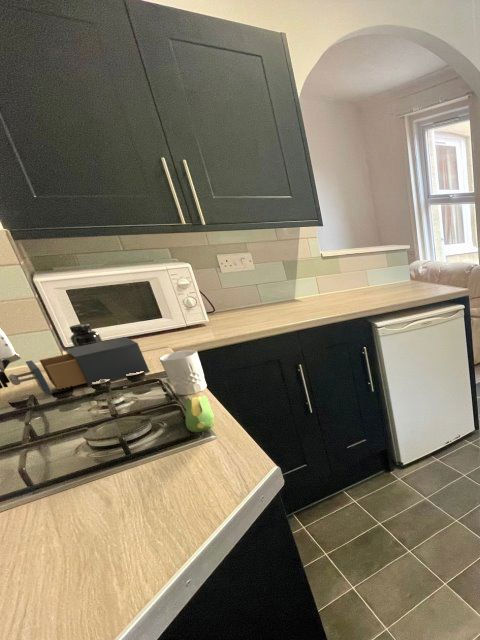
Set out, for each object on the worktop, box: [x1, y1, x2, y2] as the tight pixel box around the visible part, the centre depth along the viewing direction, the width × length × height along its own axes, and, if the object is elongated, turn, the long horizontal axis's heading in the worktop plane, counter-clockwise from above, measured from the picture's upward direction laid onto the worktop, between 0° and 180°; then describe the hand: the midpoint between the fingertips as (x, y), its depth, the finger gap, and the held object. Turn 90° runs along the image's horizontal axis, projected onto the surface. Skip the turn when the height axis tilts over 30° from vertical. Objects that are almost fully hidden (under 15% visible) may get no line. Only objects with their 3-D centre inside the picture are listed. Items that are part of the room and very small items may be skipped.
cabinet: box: [65, 336, 150, 388], centre depth 123 cm, size 14×13×9 cm
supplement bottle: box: [69, 322, 103, 348], centre depth 136 cm, size 7×7×12 cm
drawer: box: [7, 353, 87, 396], centre depth 115 cm, size 17×11×7 cm
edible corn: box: [185, 395, 215, 433], centre depth 95 cm, size 5×20×5 cm, turn 37°
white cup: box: [159, 349, 208, 396], centre depth 110 cm, size 8×8×10 cm
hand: (3, 386), depth 108 cm, fingers closed
